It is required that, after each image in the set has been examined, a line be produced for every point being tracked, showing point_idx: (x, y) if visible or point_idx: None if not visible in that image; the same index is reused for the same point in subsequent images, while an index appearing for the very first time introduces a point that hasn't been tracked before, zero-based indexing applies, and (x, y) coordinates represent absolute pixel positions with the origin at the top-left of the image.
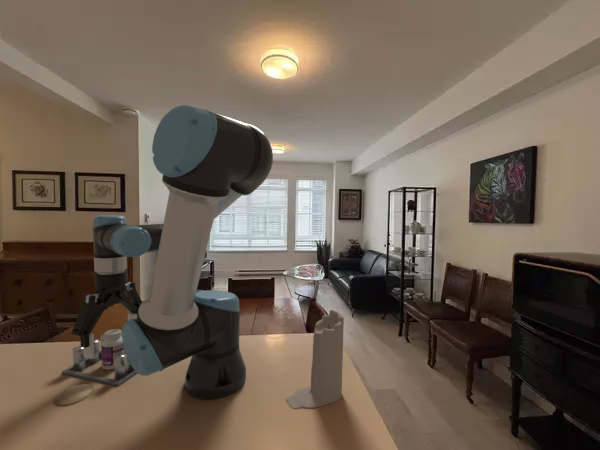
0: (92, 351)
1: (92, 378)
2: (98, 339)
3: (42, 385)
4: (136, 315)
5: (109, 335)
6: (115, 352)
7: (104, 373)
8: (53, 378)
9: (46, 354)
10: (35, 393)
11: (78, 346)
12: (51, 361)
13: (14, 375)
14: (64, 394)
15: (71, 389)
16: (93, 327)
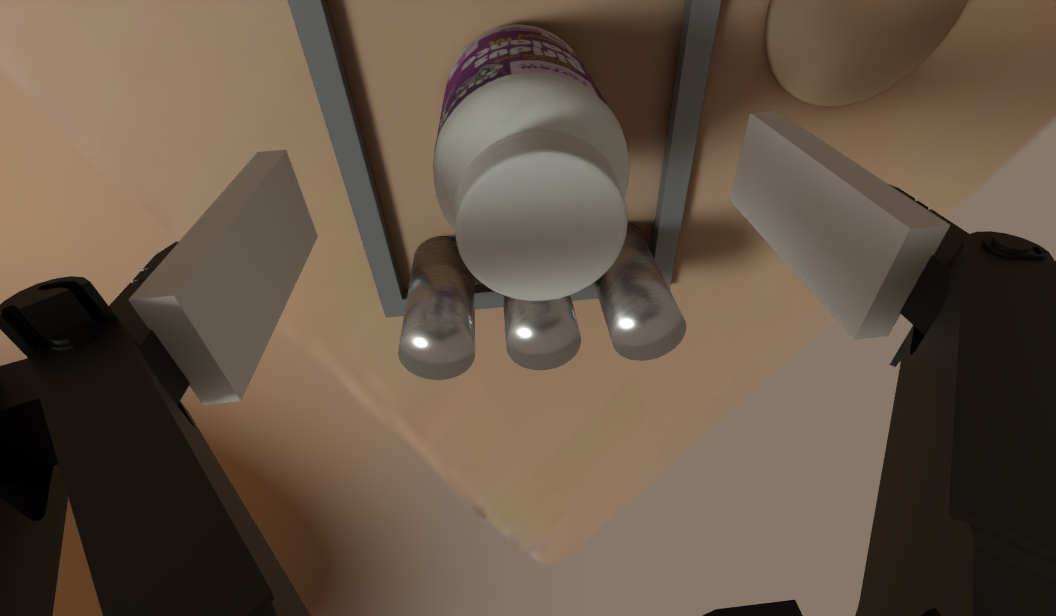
0: (803, 134)
1: (707, 62)
2: (509, 339)
3: (767, 263)
4: (152, 283)
5: (621, 194)
6: (571, 65)
7: (619, 58)
8: (709, 276)
9: (555, 457)
10: None
11: (632, 353)
12: (592, 403)
13: (705, 410)
14: (877, 60)
15: (828, 72)
16: (971, 285)
